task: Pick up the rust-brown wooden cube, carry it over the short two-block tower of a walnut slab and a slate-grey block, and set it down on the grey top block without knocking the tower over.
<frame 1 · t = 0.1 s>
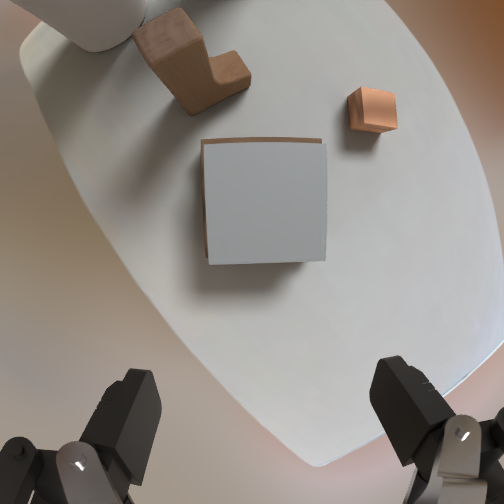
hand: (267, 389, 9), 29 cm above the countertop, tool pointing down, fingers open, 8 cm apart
tower top block: (263, 199, 31), point 4 cm above the countertop, touching tower base block
tower base block: (260, 195, 36), on the countertop, touching tower top block
wooden block: (213, 89, 32), on the countertop
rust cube: (364, 114, 33), on the countertop
cylinder vase: (112, 23, 27), on the countertop
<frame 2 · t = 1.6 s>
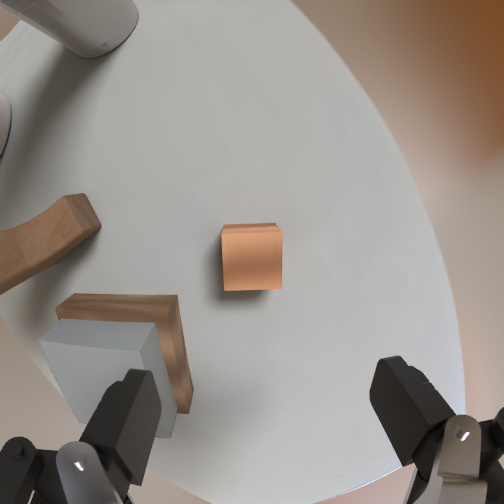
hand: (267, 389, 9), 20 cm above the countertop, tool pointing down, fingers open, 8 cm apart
tower top block: (118, 367, 26), point 5 cm above the countertop, touching tower base block
tower base block: (133, 343, 31), on the countertop, touching tower top block
wooden block: (70, 228, 27), on the countertop
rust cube: (250, 248, 28), on the countertop
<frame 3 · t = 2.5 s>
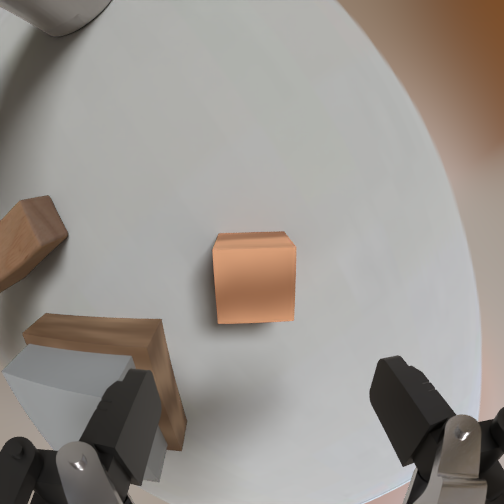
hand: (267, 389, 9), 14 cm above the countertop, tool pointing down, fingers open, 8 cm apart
tower top block: (95, 400, 20), point 5 cm above the countertop, touching tower base block
tower base block: (115, 371, 25), on the countertop, touching tower top block
wooden block: (36, 238, 21), on the countertop
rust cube: (252, 263, 22), on the countertop
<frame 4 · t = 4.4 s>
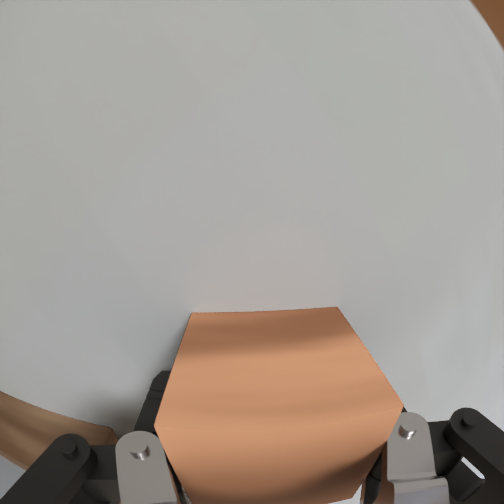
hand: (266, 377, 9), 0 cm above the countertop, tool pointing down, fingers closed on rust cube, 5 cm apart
tower top block: (50, 502, 8), point 5 cm above the countertop, touching tower base block
tower base block: (70, 459, 13), on the countertop, touching tower top block
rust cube: (265, 368, 10), on the countertop, touching gripper
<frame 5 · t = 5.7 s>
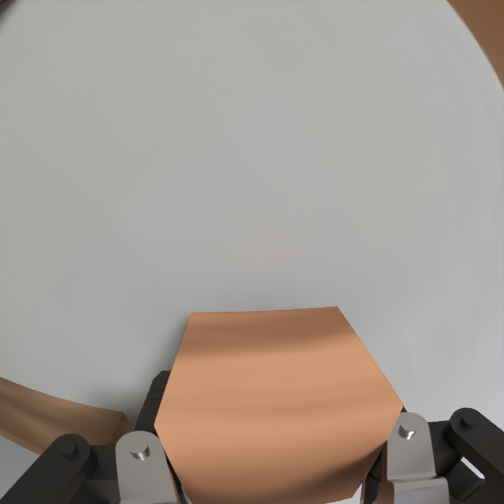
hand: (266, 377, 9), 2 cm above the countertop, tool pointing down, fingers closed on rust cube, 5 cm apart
tower top block: (56, 489, 10), point 4 cm above the countertop, touching tower base block
tower base block: (79, 448, 14), on the countertop, touching tower top block
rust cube: (265, 368, 10), point 1 cm above the countertop, touching gripper
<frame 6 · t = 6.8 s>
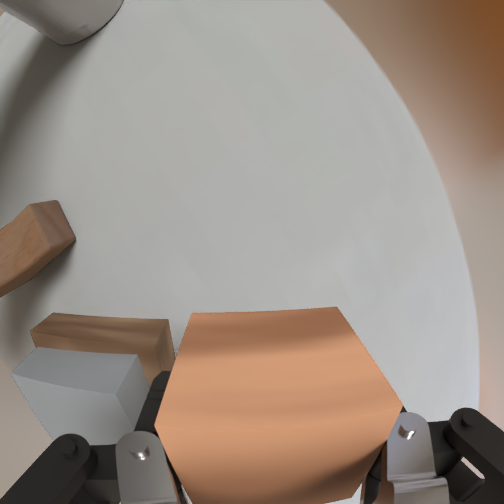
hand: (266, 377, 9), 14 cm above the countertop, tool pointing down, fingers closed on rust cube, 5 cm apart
tower top block: (103, 400, 21), point 5 cm above the countertop, touching tower base block
tower base block: (120, 370, 26), on the countertop, touching tower top block
wooden block: (43, 241, 22), on the countertop
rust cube: (265, 368, 10), point 13 cm above the countertop, touching gripper
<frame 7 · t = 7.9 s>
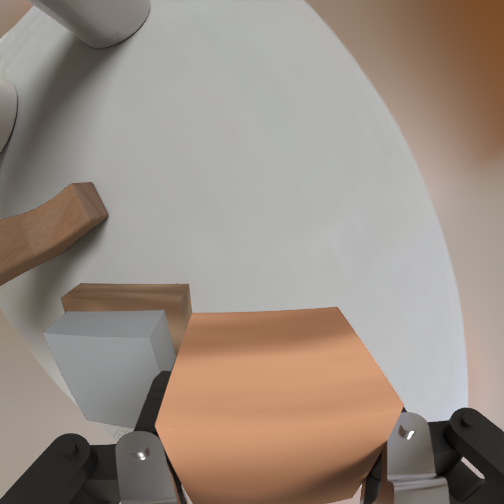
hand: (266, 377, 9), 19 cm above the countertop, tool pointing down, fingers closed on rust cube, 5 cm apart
tower top block: (126, 359, 26), point 4 cm above the countertop, touching tower base block
tower base block: (141, 335, 31), on the countertop, touching tower top block
wooden block: (76, 218, 27), on the countertop
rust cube: (266, 368, 10), point 19 cm above the countertop, touching gripper
when the fingers open (11 cm above the countertop, at t = 11.6 s): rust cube drops 1 cm, resting on tower top block.
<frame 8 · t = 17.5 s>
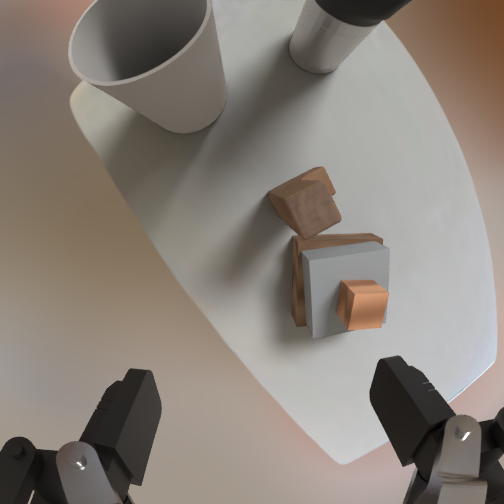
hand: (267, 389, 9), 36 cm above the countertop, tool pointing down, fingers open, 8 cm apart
tower top block: (340, 282, 42), point 5 cm above the countertop, touching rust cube, tower base block
tower base block: (331, 273, 47), on the countertop, touching tower top block
wooden block: (297, 191, 43), on the countertop
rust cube: (354, 296, 37), point 10 cm above the countertop, touching tower top block
cylinder vase: (188, 98, 38), on the countertop
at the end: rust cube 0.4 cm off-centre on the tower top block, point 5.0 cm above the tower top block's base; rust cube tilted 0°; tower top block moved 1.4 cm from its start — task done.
